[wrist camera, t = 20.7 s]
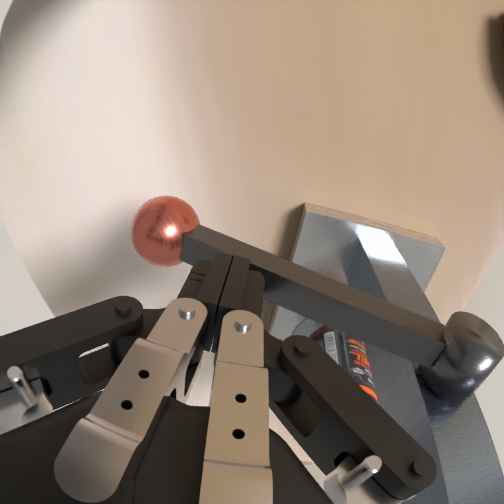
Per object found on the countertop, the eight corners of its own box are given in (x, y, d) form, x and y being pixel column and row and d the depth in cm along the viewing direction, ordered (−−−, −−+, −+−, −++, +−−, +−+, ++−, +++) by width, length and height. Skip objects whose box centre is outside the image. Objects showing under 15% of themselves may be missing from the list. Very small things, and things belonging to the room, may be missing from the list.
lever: (160, 238, 18) (117, 261, 15) (165, 181, 17) (116, 197, 14) (464, 367, 12) (468, 419, 9) (501, 314, 11) (518, 363, 8)
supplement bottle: (373, 342, 28) (397, 439, 18) (328, 370, 31) (335, 465, 21) (338, 310, 27) (357, 417, 17) (290, 344, 29) (289, 447, 19)
